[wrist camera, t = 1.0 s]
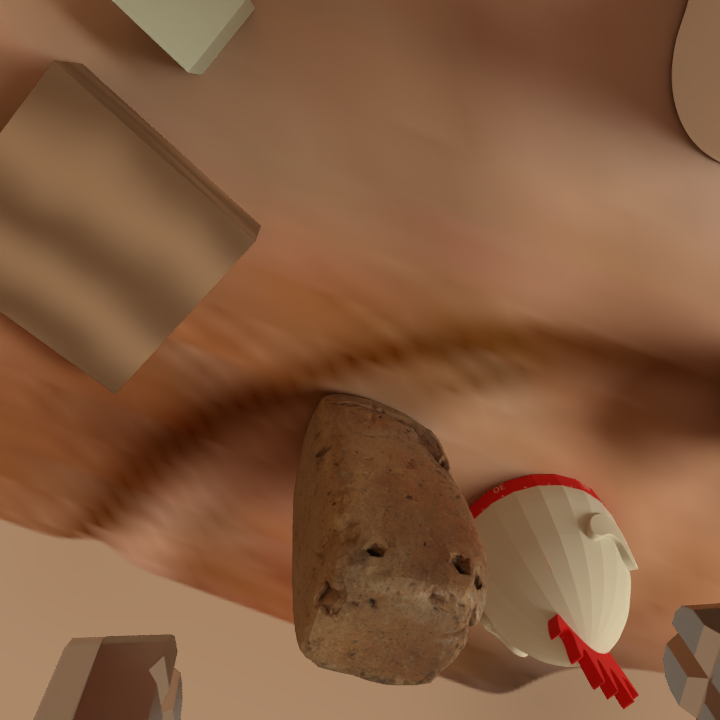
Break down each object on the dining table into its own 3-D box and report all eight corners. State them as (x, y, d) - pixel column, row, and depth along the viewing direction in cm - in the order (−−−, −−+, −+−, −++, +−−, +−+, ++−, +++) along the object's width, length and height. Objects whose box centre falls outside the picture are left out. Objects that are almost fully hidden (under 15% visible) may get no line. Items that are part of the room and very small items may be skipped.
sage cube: (187, -62, 35) (169, -85, 31) (255, 8, 37) (248, -4, 33) (134, 9, 37) (109, -3, 32) (202, 74, 38) (188, 72, 34)
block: (287, 457, 49) (276, 673, 31) (320, 376, 47) (329, 559, 28) (412, 493, 52) (471, 714, 33) (450, 417, 49) (536, 611, 31)
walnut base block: (84, 64, 38) (53, 60, 33) (261, 224, 42) (255, 241, 38) (-43, 231, 41) (-87, 249, 36) (134, 363, 46) (114, 394, 41)
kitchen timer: (523, 624, 59) (589, 787, 45) (420, 550, 54) (458, 706, 40) (639, 530, 55) (750, 676, 41) (540, 443, 51) (626, 574, 37)
